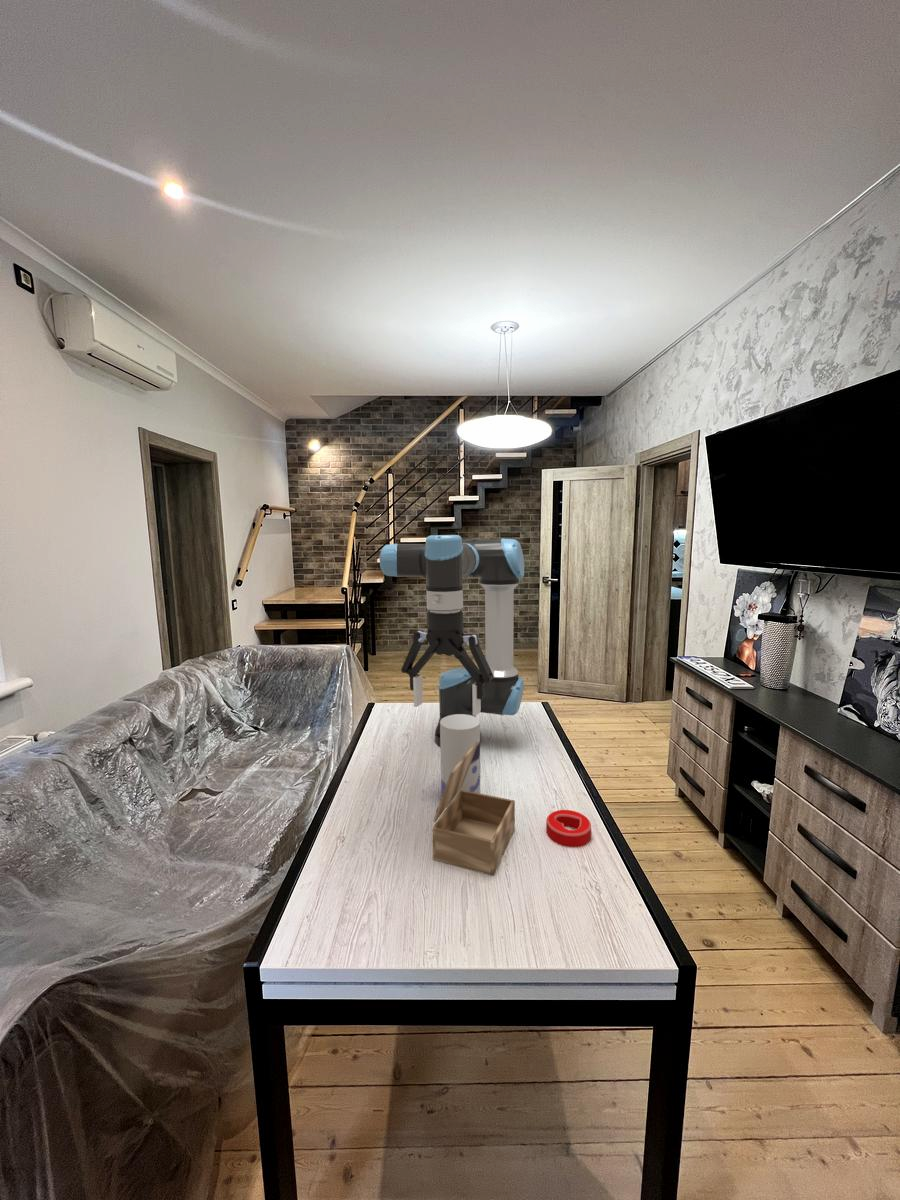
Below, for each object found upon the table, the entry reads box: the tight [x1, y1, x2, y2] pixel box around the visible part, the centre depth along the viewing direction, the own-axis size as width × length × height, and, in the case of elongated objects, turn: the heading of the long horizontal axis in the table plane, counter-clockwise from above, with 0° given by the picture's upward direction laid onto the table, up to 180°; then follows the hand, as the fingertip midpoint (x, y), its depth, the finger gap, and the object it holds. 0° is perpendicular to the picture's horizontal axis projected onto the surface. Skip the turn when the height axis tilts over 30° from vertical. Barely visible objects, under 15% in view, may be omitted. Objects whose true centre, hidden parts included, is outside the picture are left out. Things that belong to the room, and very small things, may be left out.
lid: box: [432, 741, 479, 823], centre depth 104 cm, size 15×12×1 cm
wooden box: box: [431, 790, 516, 877], centre depth 104 cm, size 16×13×7 cm
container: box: [439, 714, 481, 805], centre depth 122 cm, size 10×10×20 cm
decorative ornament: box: [545, 809, 592, 848], centre depth 107 cm, size 10×10×3 cm
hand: (446, 709), depth 103 cm, fingers open, 13 cm apart
